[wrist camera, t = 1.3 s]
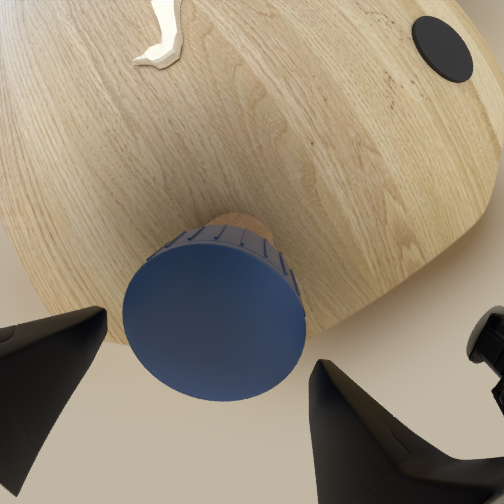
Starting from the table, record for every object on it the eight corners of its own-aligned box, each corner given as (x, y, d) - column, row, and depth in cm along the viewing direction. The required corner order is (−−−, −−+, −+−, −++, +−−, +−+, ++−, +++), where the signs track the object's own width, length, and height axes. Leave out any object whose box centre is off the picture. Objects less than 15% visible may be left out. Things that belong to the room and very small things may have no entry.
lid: (314, 243, 11) (334, 268, 8) (274, 367, 13) (277, 413, 10) (160, 208, 11) (125, 221, 8) (147, 338, 13) (123, 377, 10)
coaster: (468, 42, 14) (471, 40, 13) (470, 95, 16) (474, 94, 15) (411, 6, 13) (414, 4, 13) (411, 59, 15) (414, 56, 15)
